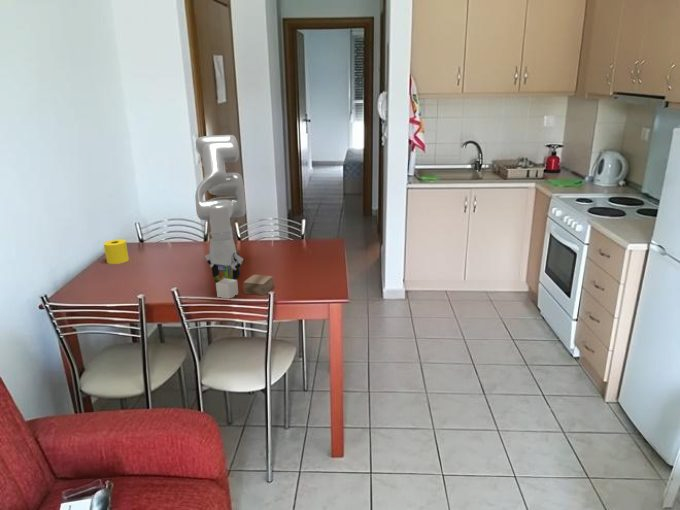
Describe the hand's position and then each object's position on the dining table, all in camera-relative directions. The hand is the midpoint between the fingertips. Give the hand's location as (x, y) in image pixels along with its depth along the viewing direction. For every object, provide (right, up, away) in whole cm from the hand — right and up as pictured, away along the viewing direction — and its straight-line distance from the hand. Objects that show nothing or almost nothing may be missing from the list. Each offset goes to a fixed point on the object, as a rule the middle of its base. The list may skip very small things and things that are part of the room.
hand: (226, 277), depth 209 cm
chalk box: (-4, -1, +23) cm, 23 cm away
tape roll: (-64, +6, +50) cm, 81 cm away
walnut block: (+12, -6, +8) cm, 15 cm away
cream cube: (0, -7, +3) cm, 8 cm away
